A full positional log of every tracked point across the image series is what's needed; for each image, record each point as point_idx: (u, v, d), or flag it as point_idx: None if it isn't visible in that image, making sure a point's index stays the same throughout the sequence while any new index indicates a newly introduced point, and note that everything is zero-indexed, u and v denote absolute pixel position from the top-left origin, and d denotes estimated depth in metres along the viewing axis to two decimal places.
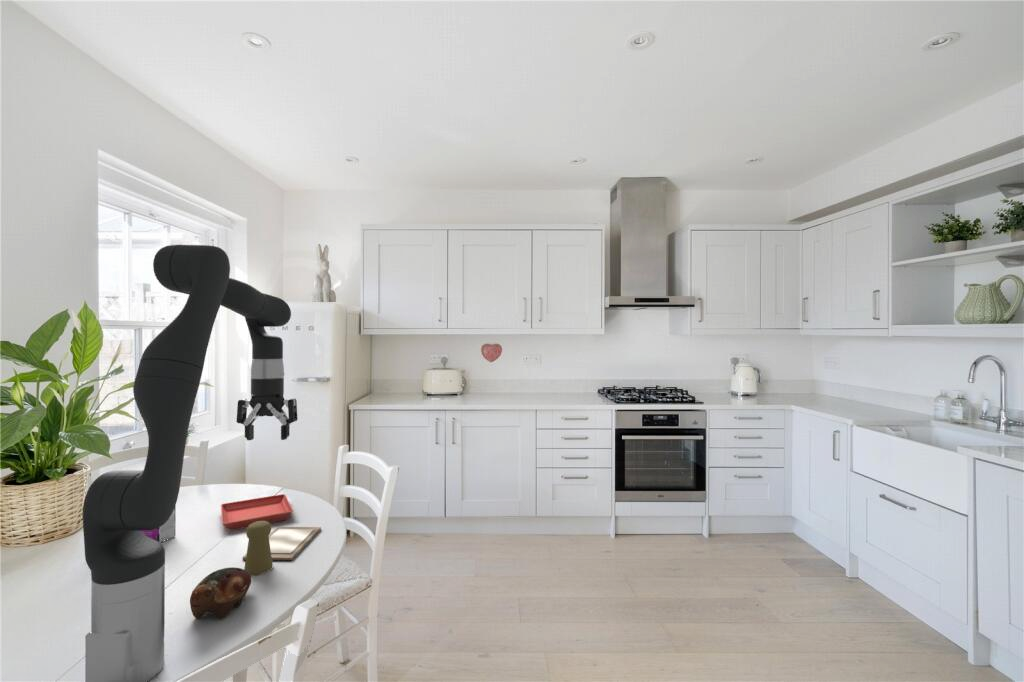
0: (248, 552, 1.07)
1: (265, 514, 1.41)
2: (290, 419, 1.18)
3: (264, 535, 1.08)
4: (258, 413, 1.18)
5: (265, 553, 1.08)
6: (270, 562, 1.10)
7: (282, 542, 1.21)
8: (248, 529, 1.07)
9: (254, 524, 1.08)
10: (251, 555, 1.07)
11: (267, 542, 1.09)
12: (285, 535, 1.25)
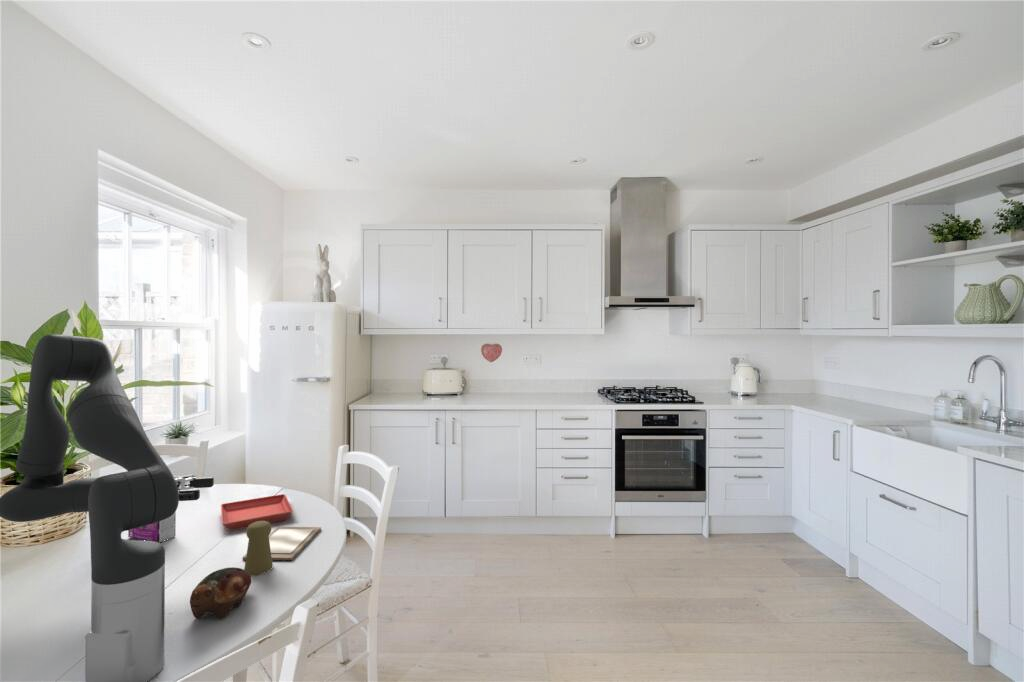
0: (248, 552, 1.07)
1: (265, 514, 1.40)
2: (191, 475, 1.11)
3: (264, 535, 1.08)
4: None
5: (265, 553, 1.08)
6: (270, 562, 1.10)
7: (282, 542, 1.21)
8: (248, 529, 1.07)
9: (254, 524, 1.08)
10: (251, 555, 1.07)
11: (267, 542, 1.09)
12: (285, 535, 1.25)
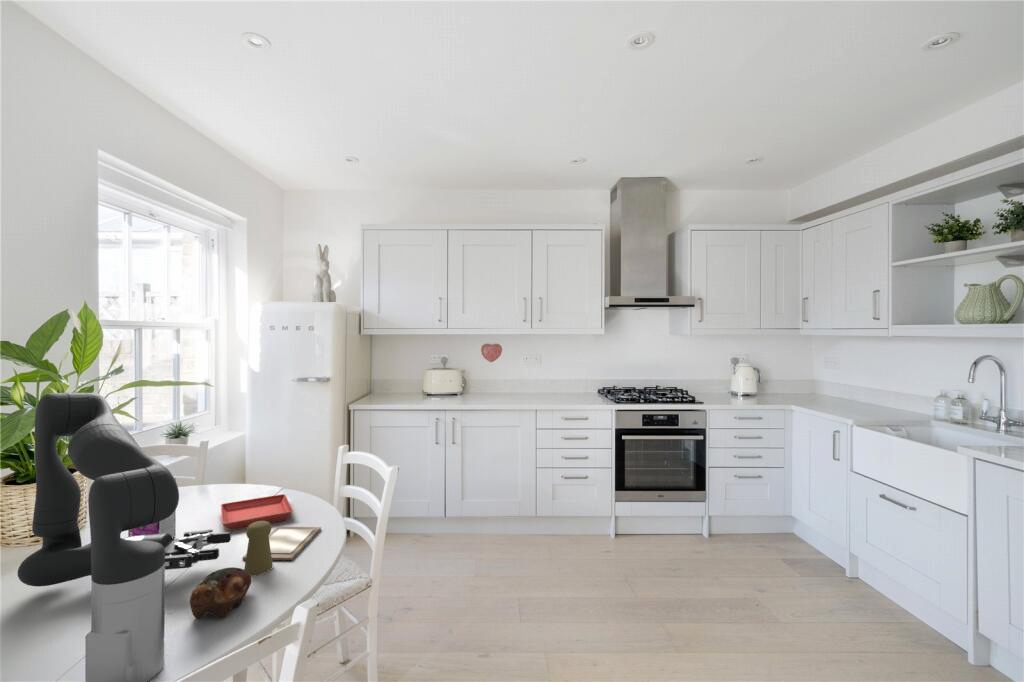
0: (248, 552, 1.07)
1: (265, 514, 1.40)
2: (208, 530, 1.12)
3: (264, 535, 1.08)
4: None
5: (265, 553, 1.08)
6: (270, 562, 1.10)
7: (282, 542, 1.21)
8: (248, 529, 1.07)
9: (254, 524, 1.08)
10: (251, 555, 1.07)
11: (267, 542, 1.09)
12: (285, 535, 1.25)
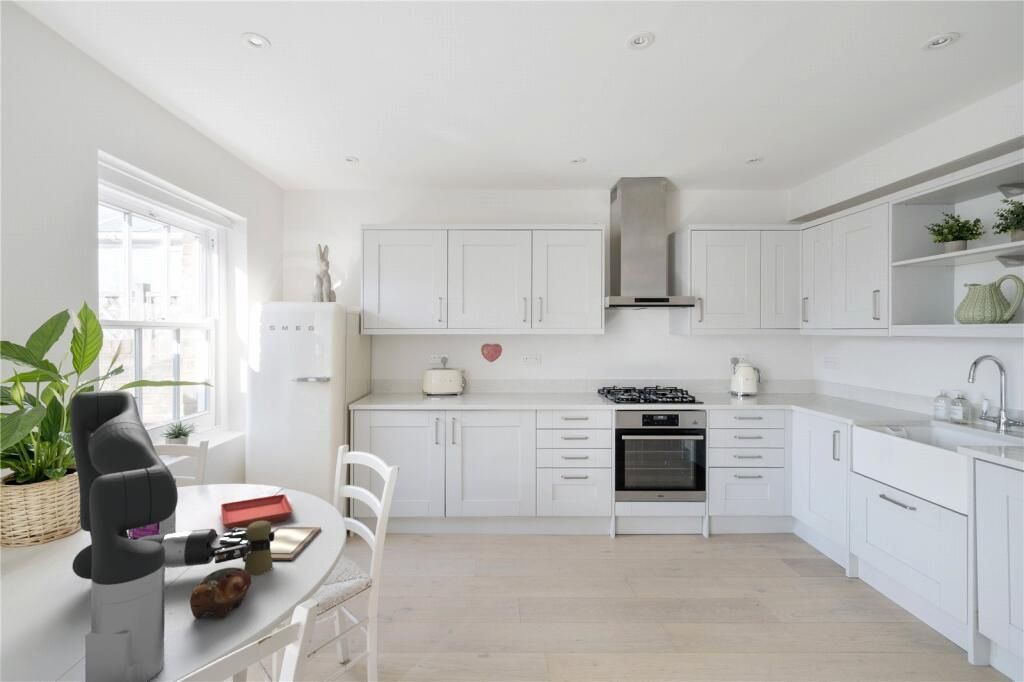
0: None
1: (265, 514, 1.40)
2: None
3: (264, 535, 1.08)
4: None
5: (265, 553, 1.08)
6: (270, 562, 1.10)
7: (282, 542, 1.21)
8: (248, 529, 1.07)
9: (254, 524, 1.08)
10: (251, 555, 1.07)
11: None
12: (285, 535, 1.25)
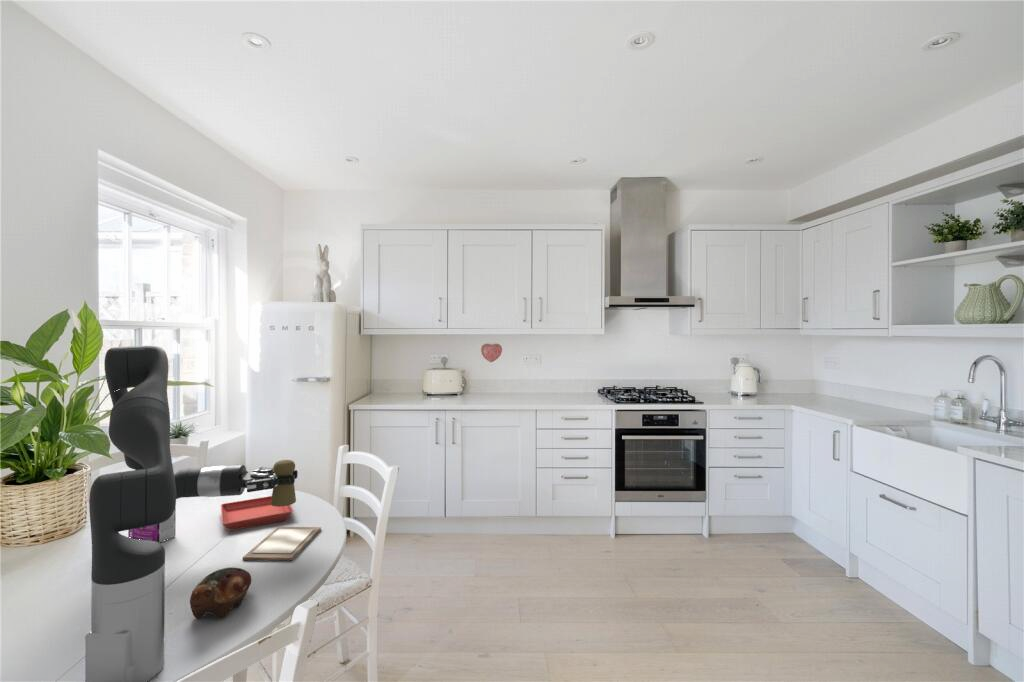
0: None
1: (265, 514, 1.40)
2: None
3: (289, 471, 1.20)
4: None
5: (290, 487, 1.21)
6: (294, 496, 1.22)
7: (282, 542, 1.21)
8: (275, 465, 1.20)
9: (280, 461, 1.21)
10: (277, 488, 1.20)
11: None
12: (285, 535, 1.25)
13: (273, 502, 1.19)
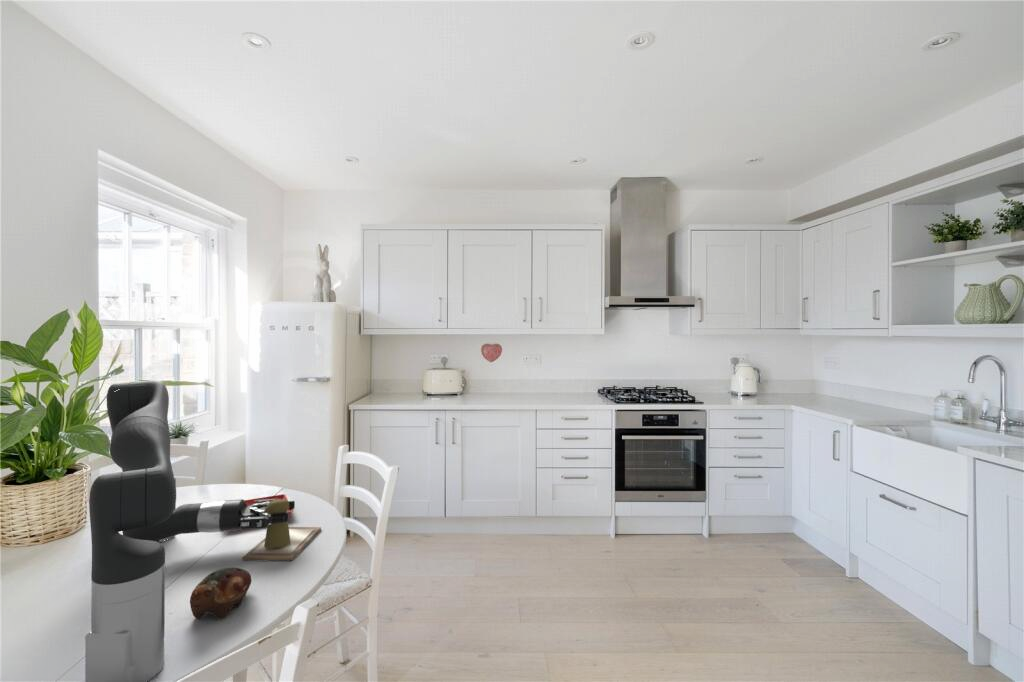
0: (269, 526, 1.18)
1: None
2: (275, 499, 1.27)
3: (283, 510, 1.19)
4: None
5: (284, 527, 1.19)
6: (288, 536, 1.20)
7: None
8: (269, 504, 1.19)
9: (274, 500, 1.20)
10: (271, 528, 1.17)
11: None
12: None
13: (267, 543, 1.17)
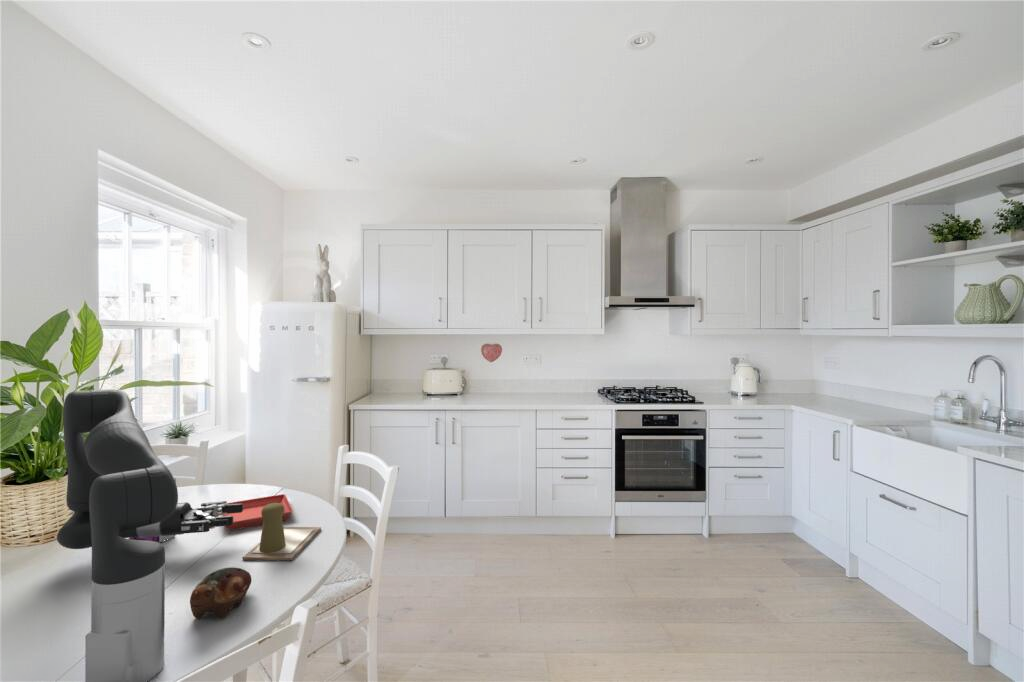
0: (263, 531, 1.16)
1: None
2: (223, 502, 1.24)
3: (278, 515, 1.17)
4: None
5: (279, 532, 1.17)
6: (283, 540, 1.19)
7: None
8: (263, 510, 1.16)
9: (269, 505, 1.17)
10: (266, 533, 1.16)
11: (281, 522, 1.18)
12: (285, 535, 1.25)
13: (262, 548, 1.16)
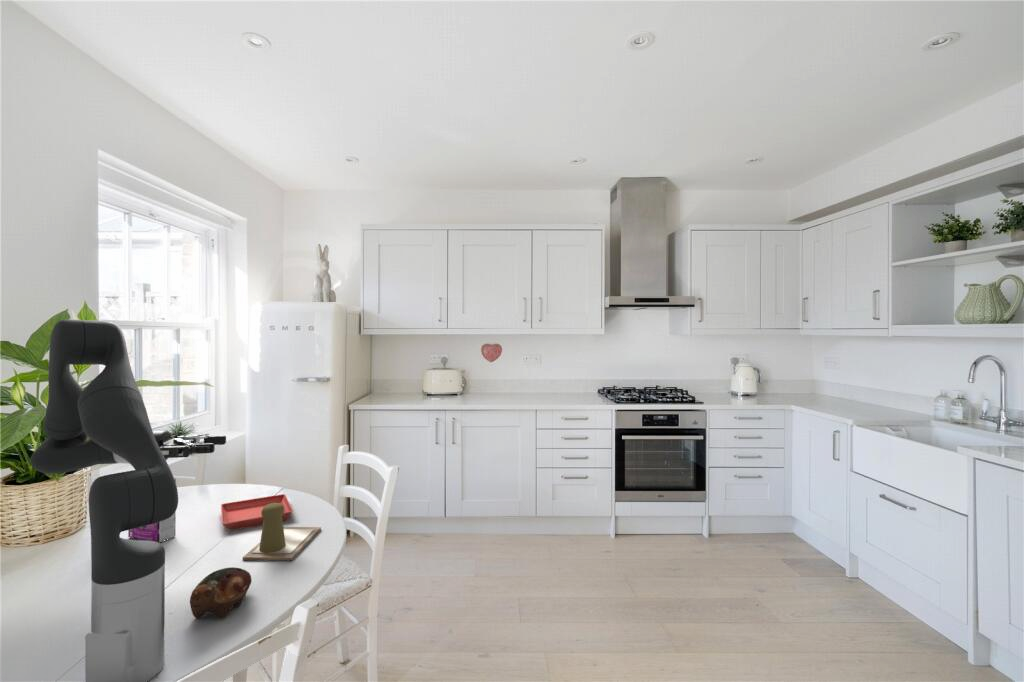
0: (263, 531, 1.16)
1: None
2: (205, 434, 1.20)
3: (278, 515, 1.17)
4: None
5: (279, 532, 1.17)
6: (283, 540, 1.19)
7: None
8: (263, 510, 1.16)
9: (269, 505, 1.17)
10: (266, 533, 1.16)
11: (281, 522, 1.18)
12: (285, 535, 1.25)
13: (262, 548, 1.16)
